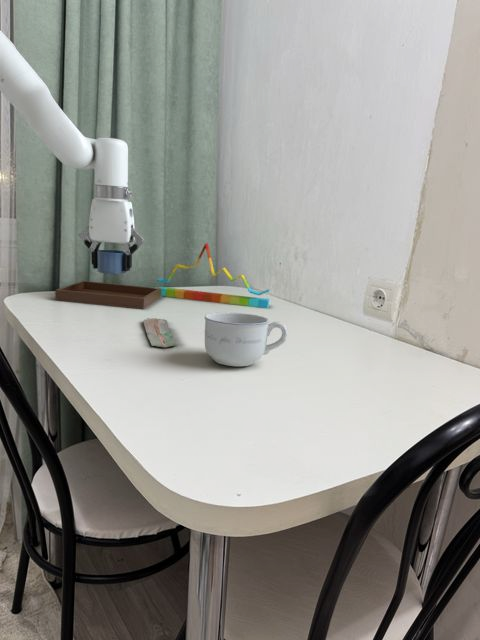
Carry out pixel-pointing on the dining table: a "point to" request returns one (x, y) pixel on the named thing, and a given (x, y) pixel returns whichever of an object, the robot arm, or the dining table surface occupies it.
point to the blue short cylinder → (110, 261)
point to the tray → (109, 294)
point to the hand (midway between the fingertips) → (111, 268)
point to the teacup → (239, 337)
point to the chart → (214, 296)
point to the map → (159, 332)
